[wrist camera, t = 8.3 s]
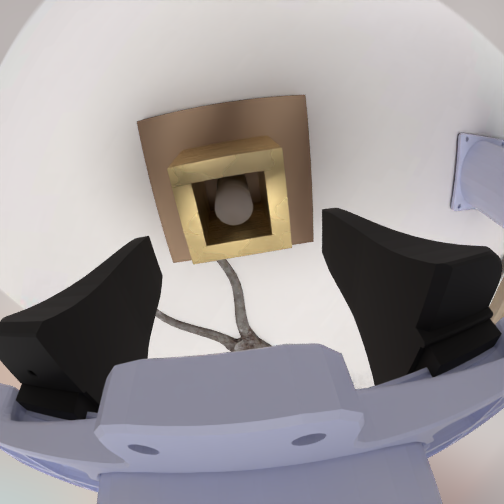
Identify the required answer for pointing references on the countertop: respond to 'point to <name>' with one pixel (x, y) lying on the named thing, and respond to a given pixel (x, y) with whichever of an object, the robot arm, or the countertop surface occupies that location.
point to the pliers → (247, 335)
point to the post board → (228, 129)
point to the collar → (205, 221)
